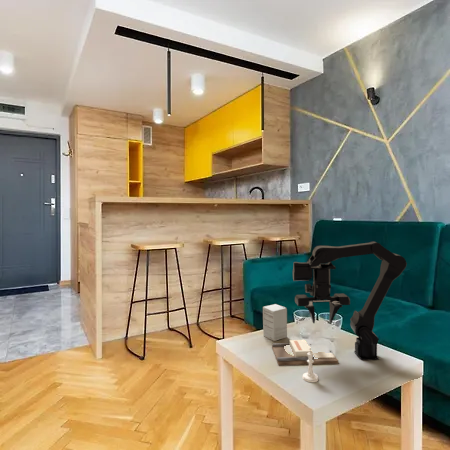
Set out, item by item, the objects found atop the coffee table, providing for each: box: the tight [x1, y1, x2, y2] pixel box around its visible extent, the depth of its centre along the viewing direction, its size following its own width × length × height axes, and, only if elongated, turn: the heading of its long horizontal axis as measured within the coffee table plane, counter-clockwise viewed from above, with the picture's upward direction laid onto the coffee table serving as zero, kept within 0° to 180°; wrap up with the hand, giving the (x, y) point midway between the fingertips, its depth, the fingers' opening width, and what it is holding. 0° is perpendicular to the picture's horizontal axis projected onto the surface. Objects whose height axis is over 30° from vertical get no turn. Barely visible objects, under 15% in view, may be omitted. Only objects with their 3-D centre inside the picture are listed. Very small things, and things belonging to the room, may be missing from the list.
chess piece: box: [302, 347, 319, 383], centre depth 105 cm, size 5×5×10 cm
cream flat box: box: [289, 339, 312, 357], centre depth 122 cm, size 6×10×2 cm, turn 1°
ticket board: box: [271, 342, 339, 366], centre depth 122 cm, size 21×14×2 cm, turn 91°
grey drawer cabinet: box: [262, 303, 288, 342], centre depth 139 cm, size 7×7×13 cm
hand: (322, 322), depth 121 cm, fingers open, 6 cm apart
